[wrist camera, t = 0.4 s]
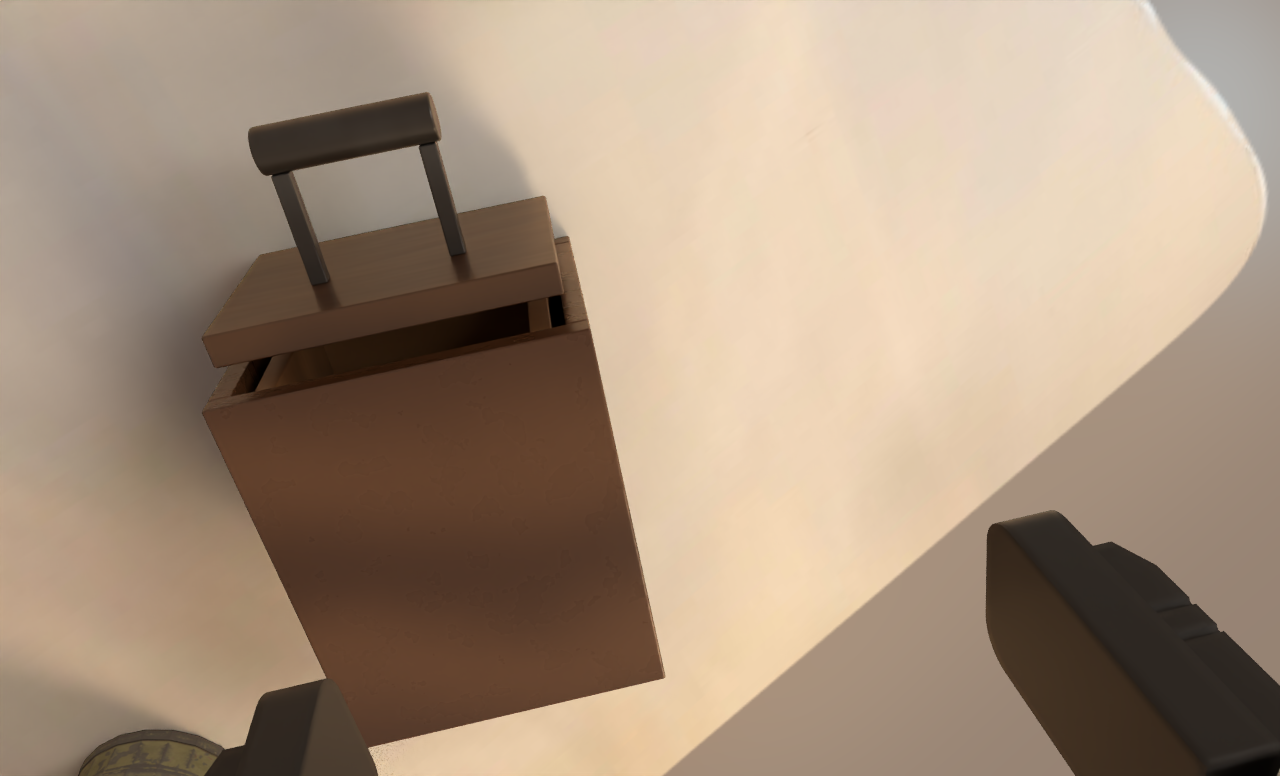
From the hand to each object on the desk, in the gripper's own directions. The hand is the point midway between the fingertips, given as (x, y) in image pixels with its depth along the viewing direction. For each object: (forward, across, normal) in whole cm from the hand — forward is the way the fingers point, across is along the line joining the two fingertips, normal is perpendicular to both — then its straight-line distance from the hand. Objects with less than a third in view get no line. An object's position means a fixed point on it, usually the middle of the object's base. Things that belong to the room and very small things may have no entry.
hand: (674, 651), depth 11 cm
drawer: (+29, +7, +7) cm, 30 cm away
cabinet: (+30, +7, +13) cm, 33 cm away
